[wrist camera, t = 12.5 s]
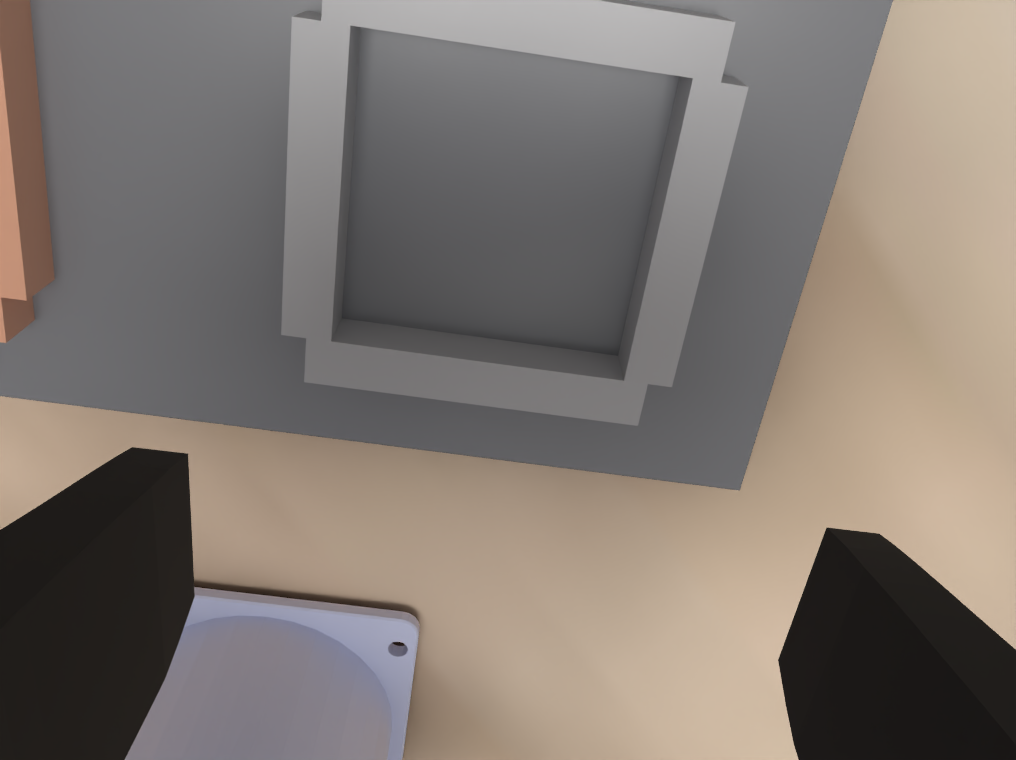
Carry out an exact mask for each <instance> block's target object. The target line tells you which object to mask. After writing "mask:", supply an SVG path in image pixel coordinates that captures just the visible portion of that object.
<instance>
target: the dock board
mask: <svg viewBox="0 0 1016 760" xmlns="http://www.w3.org/2000/svg"><path fill="white" fill-rule="evenodd" d="M892 2H893V0H0V396H5V397H13V398H20V399H28V400H36V401H44V402H52V403H59V404H67V405H75V406H83V407H91V408H99V409H106V410H114V411H122V412H130V413H138V414H146V415H153V416H161V417H169V418H177V419H185V420H192V421H200V422H208V423H216V424H224V425H232V426H239V427H247V428H255V429H263V430H271V431H279V432H286V433H294V434H302V435H310V436H318V437H325V438H333V439H341V440H349V441H357V442H365V443H372V444H380V445H388V446H396V447H404V448H412V449H419V450H427V451H435V452H443V453H451V454H458V455H466V456H474V457H482V458H490V459H498V460H505V461H513V462H521V463H529V464H537V465H545V466H552V467H560V468H568V469H576V470H584V471H592V472H599V473H607V474H615V475H623V476H631V477H638V478H646V479H654V480H662V481H670V482H678V483H685V484H693V485H701V486H709V487H717V488H725V489H732V490H740V488H741V484H742V481H743V478H744V475H745V472H746V468H747V465H748V462H749V459H750V456H751V452H752V449H753V446H754V443H755V440H756V436H757V433H758V430H759V427H760V424H761V420H762V417H763V414H764V411H765V408H766V404H767V401H768V398H769V395H770V392H771V388H772V385H773V382H774V379H775V376H776V372H777V369H778V366H779V363H780V360H781V356H782V353H783V350H784V347H785V344H786V340H787V337H788V334H789V331H790V328H791V324H792V321H793V318H794V315H795V312H796V308H797V305H798V302H799V299H800V296H801V293H802V289H803V286H804V283H805V280H806V277H807V273H808V270H809V267H810V264H811V261H812V257H813V254H814V251H815V248H816V245H817V241H818V238H819V235H820V232H821V229H822V225H823V222H824V219H825V216H826V213H827V209H828V206H829V203H830V200H831V197H832V193H833V190H834V187H835V184H836V181H837V177H838V174H839V171H840V168H841V165H842V161H843V158H844V155H845V152H846V149H847V145H848V142H849V139H850V136H851V133H852V129H853V126H854V123H855V120H856V117H857V113H858V110H859V107H860V104H861V101H862V97H863V94H864V91H865V88H866V85H867V81H868V78H869V75H870V72H871V69H872V66H873V62H874V59H875V56H876V53H877V50H878V46H879V43H880V40H881V37H882V34H883V30H884V27H885V24H886V21H887V18H888V14H889V11H890V8H891V5H892Z"/></svg>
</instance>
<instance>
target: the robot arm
mask: <svg viewBox="0 0 1016 760" xmlns="http://www.w3.org/2000/svg"><path fill="white" fill-rule="evenodd" d="M419 629H420V626H419V622H418V620H417V619H416V617H414V616H413V615H411V614H410V613H407V612H403V611H395V610H386V609H378V608H369V607H361V606H352V605H344V604H335V603H326V602H318V601H309V600H301V599H292V598H284V597H275V596H267V595H258V594H250V593H241V592H233V591H224V590H216V589H207V588H199V587H194V572H193V551H192V530H191V510H190V489H189V468H188V454H185V453H177V452H168V451H160V450H151V449H142V448H134V447H132V448H130V449H129V450H127V451H125V452H123V453H122V454H120V455H118V456H116V457H115V458H113V459H112V460H110V461H108V462H107V463H105V464H104V465H102V466H100V467H99V468H97V469H96V470H94V471H93V472H91V473H89V474H88V475H86V476H85V477H83V478H82V479H80V480H79V481H77V482H75V483H74V484H72V485H71V486H69V487H68V488H66V489H65V490H63V491H61V492H60V493H58V494H57V495H55V496H54V497H52V498H51V499H49V500H47V501H46V502H44V503H43V504H41V505H40V506H38V507H36V508H35V509H33V510H32V511H30V512H28V513H27V514H25V515H24V516H22V517H20V518H19V519H17V520H16V521H14V522H12V523H11V524H9V525H8V526H6V527H4V528H3V529H1V530H0V760H402V759H403V752H404V744H405V736H406V729H407V721H408V714H409V706H410V698H411V691H412V683H413V675H414V668H415V660H416V652H417V645H418V637H419ZM393 642H401V643H404V644H405V645H404V646H397V645H394V644H393ZM778 661H779V667H780V673H781V679H782V684H783V690H784V696H785V702H786V707H787V712H788V717H789V722H790V727H791V732H792V737H793V742H794V746H795V749H796V752H797V755H798V759H799V760H1016V650H1015V649H1014V648H1013V647H1012V646H1011V645H1010V644H1008V643H1007V642H1006V641H1005V640H1004V639H1003V638H1001V637H1000V636H999V635H998V634H997V633H996V632H995V631H993V630H992V629H991V628H990V627H989V626H988V625H986V624H985V623H984V622H983V621H982V620H981V619H980V618H978V617H977V616H976V615H975V614H974V613H973V612H972V611H970V610H969V609H968V608H967V607H966V606H965V605H964V604H962V603H961V602H960V601H959V600H958V599H957V598H956V597H955V596H953V595H952V594H951V593H950V592H949V591H948V590H947V589H945V588H944V587H943V586H942V585H941V584H940V583H939V582H937V581H936V580H935V579H934V578H933V577H932V576H930V575H929V574H928V573H927V572H926V571H925V570H923V569H922V568H921V567H920V566H919V565H918V564H917V563H915V562H914V561H913V560H912V559H911V558H909V557H908V556H907V555H906V554H905V553H903V552H902V551H901V550H900V549H898V548H897V547H896V546H895V545H893V544H892V543H891V542H889V541H888V540H887V539H885V538H884V537H883V536H882V535H880V534H876V533H868V532H859V531H851V530H842V529H833V528H826V531H825V534H824V536H823V539H822V542H821V545H820V547H819V550H818V553H817V556H816V558H815V561H814V564H813V567H812V569H811V572H810V575H809V578H808V580H807V583H806V586H805V588H804V591H803V594H802V597H801V599H800V602H799V605H798V608H797V610H796V613H795V616H794V619H793V621H792V624H791V627H790V629H789V632H788V635H787V638H786V640H785V643H784V646H783V649H782V651H781V654H780V657H779V660H778Z"/></svg>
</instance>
